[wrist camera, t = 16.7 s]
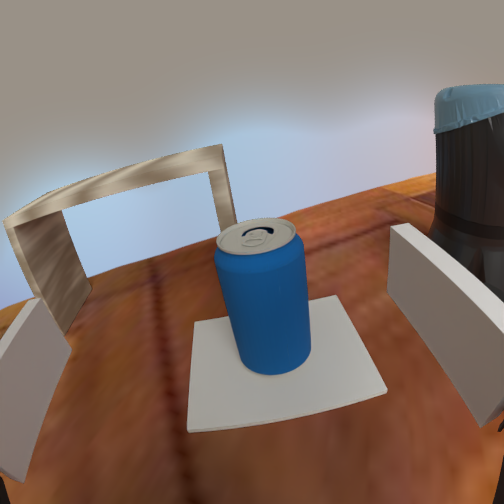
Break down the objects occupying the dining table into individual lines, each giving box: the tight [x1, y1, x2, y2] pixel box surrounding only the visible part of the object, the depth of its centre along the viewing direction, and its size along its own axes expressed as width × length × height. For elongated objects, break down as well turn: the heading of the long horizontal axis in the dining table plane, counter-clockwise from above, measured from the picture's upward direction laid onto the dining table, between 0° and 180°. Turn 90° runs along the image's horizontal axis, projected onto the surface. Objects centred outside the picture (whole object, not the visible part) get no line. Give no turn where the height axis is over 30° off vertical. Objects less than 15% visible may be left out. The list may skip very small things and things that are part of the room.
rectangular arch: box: [3, 144, 237, 336], centre depth 35 cm, size 27×12×17 cm, turn 96°
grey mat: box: [187, 295, 387, 433], centre depth 27 cm, size 16×14×1 cm
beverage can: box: [214, 218, 311, 375], centre depth 24 cm, size 6×6×12 cm
